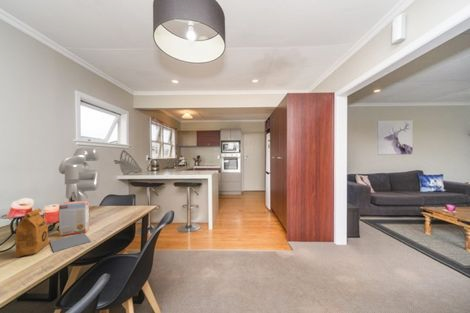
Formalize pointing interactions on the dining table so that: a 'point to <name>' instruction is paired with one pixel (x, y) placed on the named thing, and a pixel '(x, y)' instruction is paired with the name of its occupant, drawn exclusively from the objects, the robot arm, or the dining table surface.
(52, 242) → the mat
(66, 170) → the robot arm
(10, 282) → the dining table surface
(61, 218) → the cracker box
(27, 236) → the coffee package
